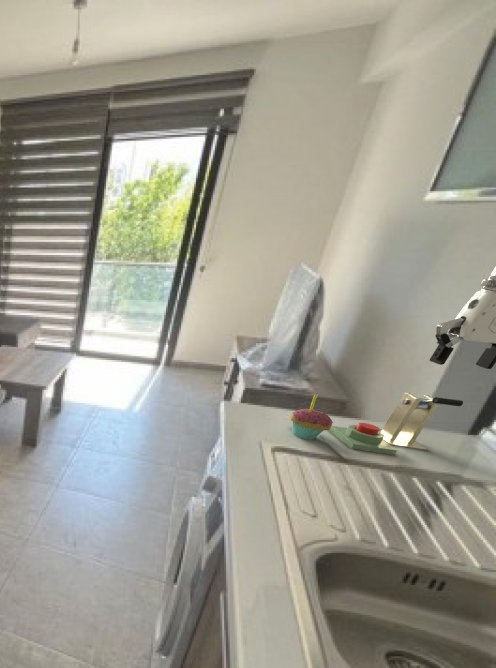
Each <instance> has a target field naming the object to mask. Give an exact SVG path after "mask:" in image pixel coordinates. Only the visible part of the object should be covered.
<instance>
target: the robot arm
mask: <svg viewBox="0 0 496 668" xmlns="http://www.w3.org/2000/svg"><path fill="white" fill-rule="evenodd" d="M480 286H482V288H481V289H480V290H478V291H476V292H475V293H474V295H472V297H471V298H470V299H469V300H468V301H467V303H465V305H464V306H463V307H462V309H461V310H460V311H459V313H458V314H457V316H456V317H455V318H454V319H452V320H451V319H450V320H448V321H445V322H441V323H439V324H437V325H436V326H435V327H436V328H435V339H436V344H437V346H436V349H435V350H434V352H433V353H432V354H431V356H430V358H429V362H431V363H434V364H437V365H440V366H443V365H445V364H446V362H447V360H448V359H449V357H450V356H451V354H452V353H453V351H454V349H455V347H453V346H455V345H457V344H459V343H461V342H462V341H467V342H468V341H469V342H475V343H487V344H489V347H486V348H485V349H484V350H483V352H482V353H481V355H480V357H479V358H478V360H477V361H476V363H475V365H476V366H478V367H481V368H484V369H486V370H491V369H493V367H494V366H495V365H496V266H495V267H494V269H493V270H492V272H491V273H490V275H489V276H488V278H487V279H483V280H482V281H481V283H480Z"/></svg>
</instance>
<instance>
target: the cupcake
mask: <svg viewBox="0 0 496 668" xmlns="http://www.w3.org/2000/svg"><path fill="white" fill-rule="evenodd" d="M317 399H318V392H317V391H315V394H314V395H313V397H312V400H311V404H310V407H309V408H300V409H297V410H295V411H292V414H290V417H289V418H290V421H291V422H292V429H291V431H292V432H291V433H292V435H294V437H295V436H296V437H298V438H301V439H304V440H315V439H316V438H317V437H318V436H319V435H321V434H322V432H324V431H330V428H331V426H333V423H334V422H333V419H332V418H331V417H330V416H329V415H328V414H327V413H326V412H325V411H322V410H321V411H320V410H319V409H314V407H315V405H316V402H317Z"/></svg>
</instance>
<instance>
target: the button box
mask: <svg viewBox="0 0 496 668" xmlns="http://www.w3.org/2000/svg"><path fill="white" fill-rule="evenodd" d="M357 426H358V424H350V425H348V426H347V427H344V426H336V425H332V426H331V428H330V430H329V432H330V433H332V434H334V436H336V437H337V438H338V439H339V440H340V441H342V442H343V443H344V444H345V445H347V446H348V447H349V448H350V449H353V450H360V451H367V452H373V453H379V454H385V455H393V456H394V455H395V454H396V452H397V449H396V448H394V447H393V446H392V445H390V444H388V443H387V442H385V441H384V440H383V438H384V434H382V433H381V432H379V431H378V433H377V434H376V435H375V436H374V435H368V434H364V433H361V432H359V431H357V430H356V428H357Z"/></svg>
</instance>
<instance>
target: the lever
mask: <svg viewBox="0 0 496 668" xmlns="http://www.w3.org/2000/svg"><path fill="white" fill-rule="evenodd" d="M419 398H420V399H421V400H420V402H419V403H418V405H417V407H416V408H415V409H427V407H428V405H438V406H441V405H442V406H443V405H445V406H451V407H453V406H454V407H462V406H463V404H464V401H463V400H461V399H454V398H445V397H437V396H435V397H433V400H429V399H425V398H422V397H419Z"/></svg>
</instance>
